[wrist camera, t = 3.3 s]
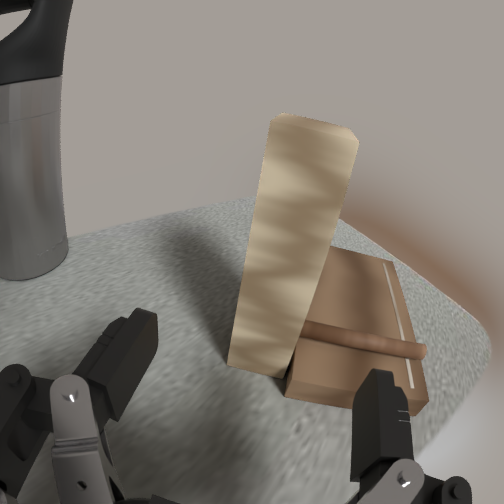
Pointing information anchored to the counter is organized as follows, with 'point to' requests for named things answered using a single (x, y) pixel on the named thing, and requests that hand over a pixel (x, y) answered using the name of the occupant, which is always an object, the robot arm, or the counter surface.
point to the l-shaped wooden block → (296, 247)
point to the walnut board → (359, 319)
